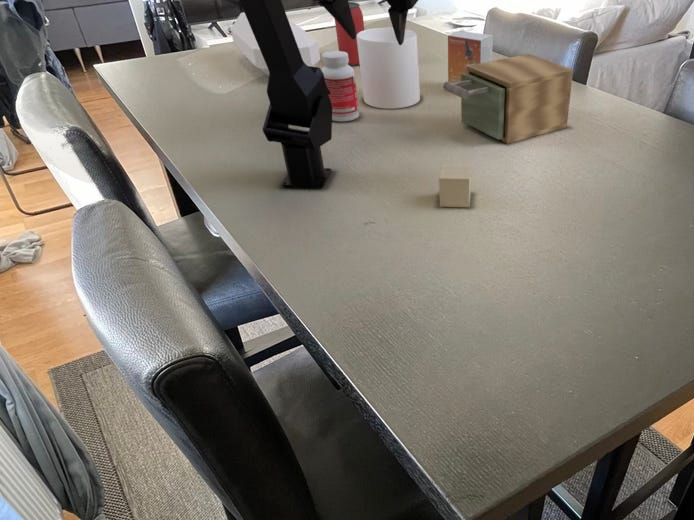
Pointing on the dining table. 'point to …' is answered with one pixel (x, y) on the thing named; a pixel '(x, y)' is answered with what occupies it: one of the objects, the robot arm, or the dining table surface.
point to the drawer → (481, 103)
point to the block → (454, 186)
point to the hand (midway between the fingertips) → (377, 41)
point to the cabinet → (530, 94)
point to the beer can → (345, 40)
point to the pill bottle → (340, 85)
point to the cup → (388, 68)
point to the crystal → (251, 50)
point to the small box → (467, 52)
